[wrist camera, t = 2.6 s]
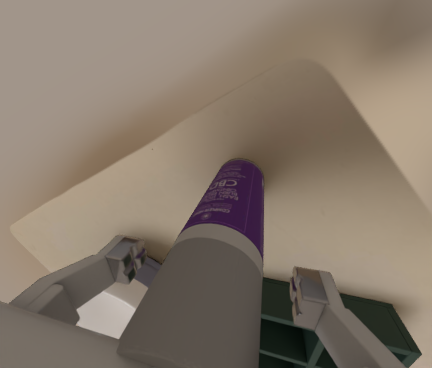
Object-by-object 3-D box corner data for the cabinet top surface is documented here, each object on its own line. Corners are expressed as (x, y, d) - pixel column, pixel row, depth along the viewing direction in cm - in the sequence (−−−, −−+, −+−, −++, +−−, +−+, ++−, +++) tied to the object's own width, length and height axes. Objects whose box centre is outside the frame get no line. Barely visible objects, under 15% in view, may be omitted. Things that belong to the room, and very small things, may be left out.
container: (242, 148, 17) (161, 334, 4) (274, 184, 18) (301, 446, 4) (208, 177, 19) (80, 359, 6) (238, 208, 20) (183, 432, 7)
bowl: (177, 314, 32) (154, 371, 25) (106, 279, 33) (66, 325, 26) (201, 266, 25) (177, 326, 18) (109, 223, 26) (55, 266, 19)
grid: (392, 304, 20) (422, 354, 16) (348, 367, 27) (362, 413, 23) (252, 275, 23) (249, 310, 20) (244, 337, 30) (241, 373, 26)
